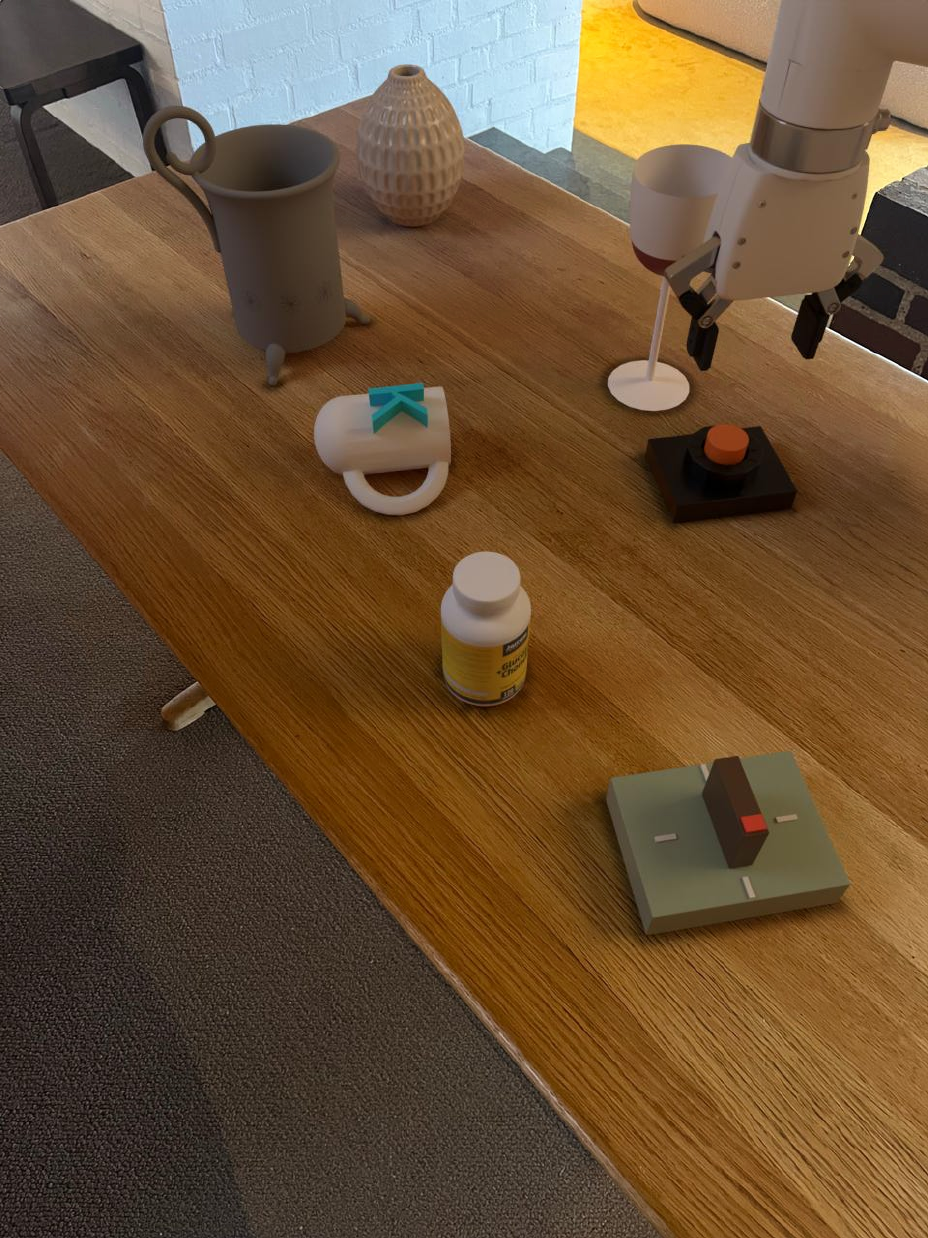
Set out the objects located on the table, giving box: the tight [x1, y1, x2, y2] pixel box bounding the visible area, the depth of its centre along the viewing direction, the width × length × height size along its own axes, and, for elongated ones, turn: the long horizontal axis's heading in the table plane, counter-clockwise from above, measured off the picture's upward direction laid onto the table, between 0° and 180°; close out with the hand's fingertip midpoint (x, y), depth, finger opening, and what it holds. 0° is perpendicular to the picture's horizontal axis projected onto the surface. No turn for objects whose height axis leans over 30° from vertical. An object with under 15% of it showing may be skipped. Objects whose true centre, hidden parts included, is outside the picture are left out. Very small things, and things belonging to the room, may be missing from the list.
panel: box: [605, 750, 851, 936], centre depth 64 cm, size 13×10×3 cm
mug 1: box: [142, 105, 371, 387], centre depth 93 cm, size 19×15×25 cm
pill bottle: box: [440, 551, 532, 707], centre depth 70 cm, size 6×6×12 cm
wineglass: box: [607, 143, 732, 412], centre depth 89 cm, size 9×10×22 cm
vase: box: [355, 63, 466, 228], centre depth 113 cm, size 13×13×17 cm
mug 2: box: [313, 382, 452, 516], centre depth 86 cm, size 12×9×12 cm
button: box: [704, 423, 749, 465], centre depth 85 cm, size 4×4×2 cm
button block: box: [644, 424, 798, 524], centre depth 87 cm, size 11×9×4 cm
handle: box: [702, 755, 769, 869], centre depth 61 cm, size 6×2×5 cm, turn 9°
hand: (750, 354), depth 77 cm, fingers open, 8 cm apart
